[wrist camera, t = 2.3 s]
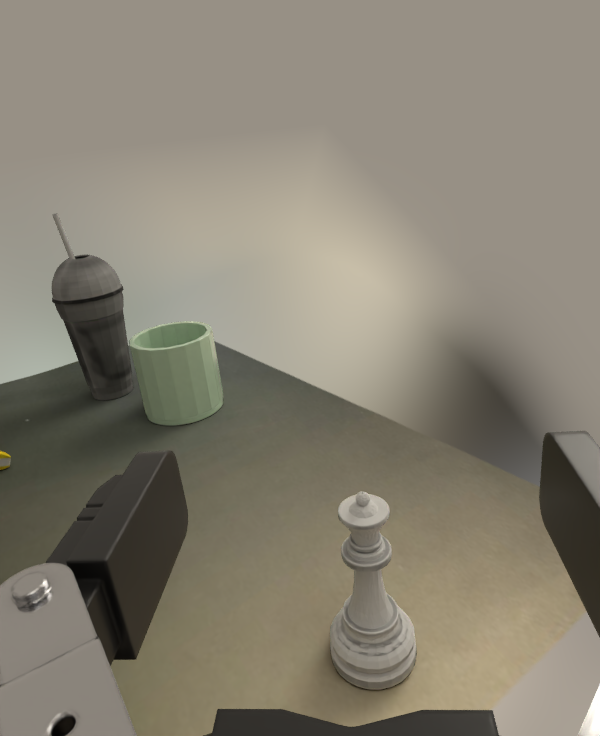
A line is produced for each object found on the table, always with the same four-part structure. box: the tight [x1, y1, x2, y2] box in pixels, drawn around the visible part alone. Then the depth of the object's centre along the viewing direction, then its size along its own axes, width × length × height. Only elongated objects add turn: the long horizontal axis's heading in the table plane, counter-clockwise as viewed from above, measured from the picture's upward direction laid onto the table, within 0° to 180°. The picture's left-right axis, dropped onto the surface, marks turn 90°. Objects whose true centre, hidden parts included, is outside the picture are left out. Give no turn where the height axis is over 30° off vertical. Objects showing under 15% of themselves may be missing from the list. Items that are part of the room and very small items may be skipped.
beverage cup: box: [52, 214, 133, 400], centre depth 60 cm, size 7×7×20 cm
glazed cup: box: [129, 321, 224, 426], centre depth 57 cm, size 8×8×8 cm
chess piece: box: [330, 491, 417, 689], centre depth 27 cm, size 4×4×10 cm
